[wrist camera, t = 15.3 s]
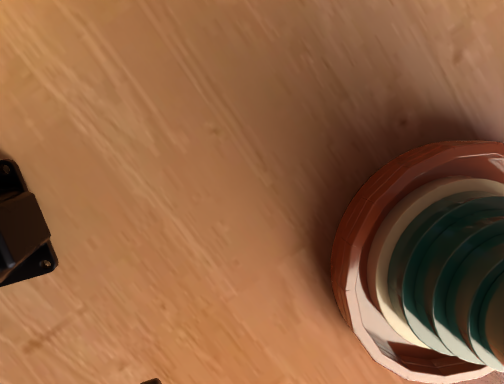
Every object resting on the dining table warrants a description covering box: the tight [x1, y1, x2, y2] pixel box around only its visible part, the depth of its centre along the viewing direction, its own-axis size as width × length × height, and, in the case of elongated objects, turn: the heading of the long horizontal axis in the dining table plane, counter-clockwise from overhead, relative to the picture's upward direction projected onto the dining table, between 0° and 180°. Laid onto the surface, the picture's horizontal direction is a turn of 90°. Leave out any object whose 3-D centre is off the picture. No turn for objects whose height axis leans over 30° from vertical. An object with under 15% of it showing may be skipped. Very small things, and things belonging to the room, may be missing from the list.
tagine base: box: [331, 140, 504, 384], centre depth 22 cm, size 15×16×3 cm
